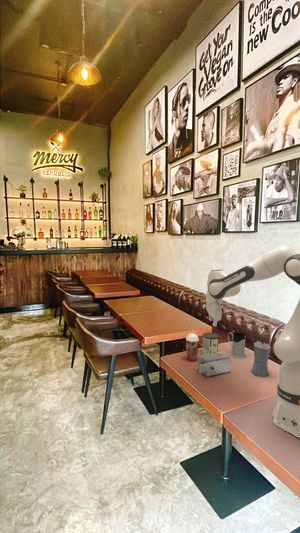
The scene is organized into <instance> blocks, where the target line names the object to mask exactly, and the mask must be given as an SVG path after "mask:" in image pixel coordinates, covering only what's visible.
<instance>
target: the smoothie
mask: <svg viewBox="0 0 300 533" xmlns="http://www.w3.org/2000/svg"><path fill="white" fill-rule="evenodd" d="M199 344H200V338H199V336H198V335H197V334H196V333H195V332H194V328H192V331H191V332H190V333H189V334H187V336H186V337H185V350H186V351H185V354H186V360H187V361H189V362H195V361H197V359H198V354H199V352H198V351H199Z"/></svg>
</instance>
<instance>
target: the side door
mask: <svg viewBox="0 0 300 533" xmlns="http://www.w3.org/2000/svg"><path fill="white" fill-rule="evenodd" d="M231 360H232V358H231V357H230V358H226V359H221V360H216V361H211V362H207V363H206V364H201V365H200V371H199V374H202V372H207V376H206V377H212V376H215V375H220V374H224V373H228V372H229V373H230V372H231V362H232V361H231Z"/></svg>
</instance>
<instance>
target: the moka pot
mask: <svg viewBox="0 0 300 533" xmlns="http://www.w3.org/2000/svg"><path fill="white" fill-rule="evenodd" d="M271 350H272V346H271V344H268V343H266V342H265V340H261V341H259V340H257V339H255V340H254V341H253V357H254V359H253V363H252V364H253V365H252V369H251V373H252V374H253V375H255V376H256V377H260V378H264V377H265V378H266V377H267V376H268V375H269V369H268V361H269V358H270V354H271Z"/></svg>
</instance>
